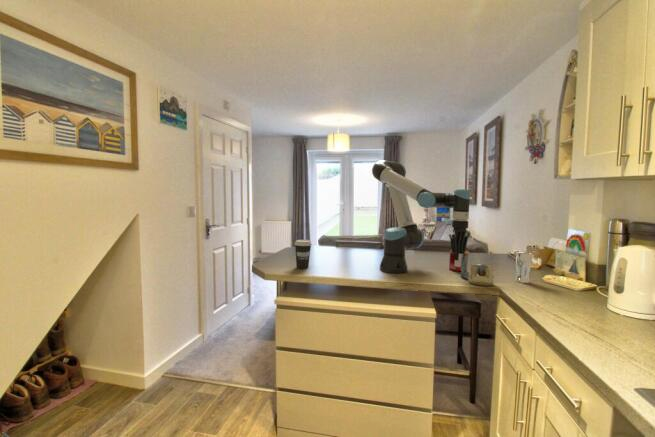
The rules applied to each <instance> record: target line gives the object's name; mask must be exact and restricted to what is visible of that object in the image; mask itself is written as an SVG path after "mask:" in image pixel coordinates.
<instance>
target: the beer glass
mask: <svg viewBox="0 0 655 437" xmlns="http://www.w3.org/2000/svg"><path fill="white" fill-rule="evenodd" d="M515 255H516V256H515V269H516V276H515V282H517V283H521V284H529V283H530V278H529V277H530V271H531V268H532V263H533V252H530V251H524V250H517V252H516V254H515Z"/></svg>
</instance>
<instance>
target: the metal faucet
mask: <svg viewBox="0 0 655 437" xmlns="http://www.w3.org/2000/svg"><path fill="white" fill-rule="evenodd" d="M469 252H470V251H469V250H465V252H463V253H464V254H462V259H461V272H460V274H459V275H460V276H459V277H461V278H464V279H467V282H468V283H469V284H472V285H476V286H481V287H491V286H492V287H493V286H494V279H495V278H494V275H493V270H494V269H493V268H492V265H487V264H484V263H477V264H476V263H473V264H470V271H468V263H469V262H468V261H469V260H468V259H469Z"/></svg>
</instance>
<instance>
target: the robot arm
mask: <svg viewBox="0 0 655 437" xmlns="http://www.w3.org/2000/svg"><path fill="white" fill-rule="evenodd" d="M371 171H372V172H371V173H372V176H373V177H374V178H375V179H376V180H377V181H378V182H381V183H383V184H385V187H386V188H388V190H389V193H390V197H391V201H392V205H393V209H394V213H395V216H396V220H397V221H396V222H397V224H398V226H397V227H389V228H386V229H385V230H384V236H383V256H382V259H381V262H380V264H379V271H381V272H385V273H388V274H389V273H391V274H403V273H404V274H405V273H408V271H409V270H408V264H407V260H406V251H409V250H417V249H418V248H420V247H421V246H422V245H423V244H424V241H425V235H424V232H423V230H421V229H420V228H418V225H417V223H415V222H414V220H413V215H412V213H411V210H410V209H411V208H410V205H409V202H408V198H407V196H408V197H409V198H410V199H413V200H414V201H415V202H417V204H418V206H420V207H422V208H426V209H429V208H431V209H432V208H447V209H448V208H451V209H452V217H451V218H452V222H451V227H452V229H453V230H452V233H449V234H448V237H449V240H450V246H451V247H450V248H451V250H452V252H453V253H455V265H454V266H457V267H461V259H462V254H464V253H463V252H465V251H467V246H468V245H467V244H468V240H469V238H470V235H471V234H470V233H468V232H467V229H468V228H469V219H470V216H469V214H470V204H471V203H470V201H471V191H470V190H469V189H465V188H464V189H459V188H458V189H454V190H453V192H452V193H451V192H432V191H430V190H428V189H426V188H424V187H423V186H421V185H419V184H418V183H416V182H413V181H412V180H410V179H408V178H407V177H406V176H407V175H406V174H407V170H406V167H405V166H404V165H403V164H402V163H401V162H397V161H390V160H382V159H381V160H378V161H376V162H375V163H374V164H373V165H372V169H371Z"/></svg>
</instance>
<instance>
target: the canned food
mask: <svg viewBox="0 0 655 437" xmlns="http://www.w3.org/2000/svg"><path fill="white" fill-rule="evenodd" d="M454 265H455V253H453V252H452V249H451V250H450V251H449V265H448V266H449V268H448V269H449V271H451V270H452V271H451V272H456V271H461V267H457V266H454Z"/></svg>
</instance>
